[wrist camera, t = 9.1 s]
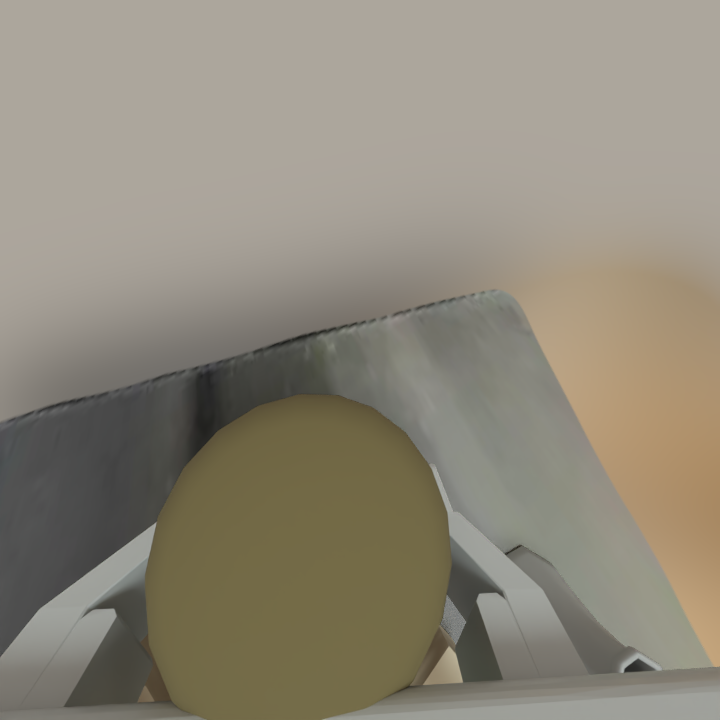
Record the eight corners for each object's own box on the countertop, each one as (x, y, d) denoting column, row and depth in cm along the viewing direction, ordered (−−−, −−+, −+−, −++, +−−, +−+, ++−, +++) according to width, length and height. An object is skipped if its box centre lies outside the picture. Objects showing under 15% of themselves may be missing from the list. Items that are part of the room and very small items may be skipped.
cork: (246, 451, 14) (2, 455, 4) (349, 402, 15) (392, 302, 5) (289, 573, 12) (91, 1191, 2) (399, 506, 14) (608, 673, 4)
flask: (581, 597, 24) (738, 696, 14) (534, 670, 22) (678, 838, 12) (518, 528, 25) (622, 576, 16) (469, 592, 23) (553, 689, 14)
